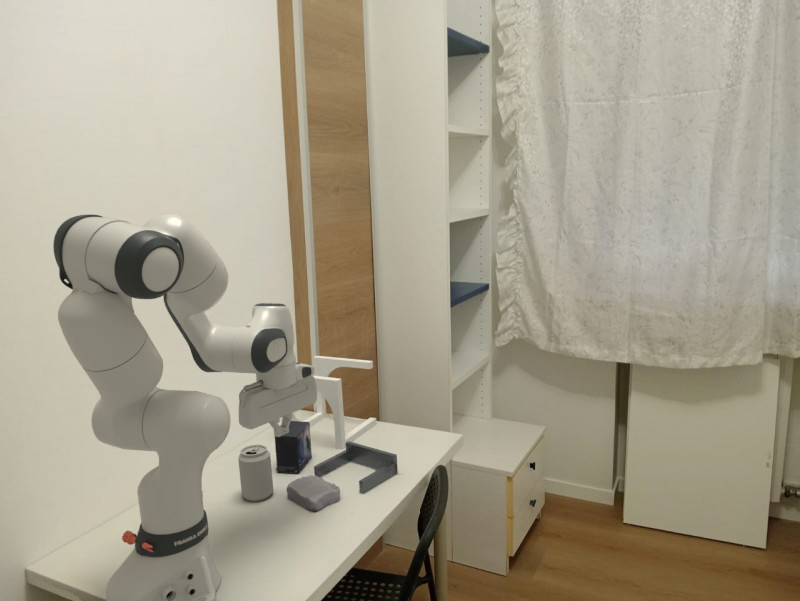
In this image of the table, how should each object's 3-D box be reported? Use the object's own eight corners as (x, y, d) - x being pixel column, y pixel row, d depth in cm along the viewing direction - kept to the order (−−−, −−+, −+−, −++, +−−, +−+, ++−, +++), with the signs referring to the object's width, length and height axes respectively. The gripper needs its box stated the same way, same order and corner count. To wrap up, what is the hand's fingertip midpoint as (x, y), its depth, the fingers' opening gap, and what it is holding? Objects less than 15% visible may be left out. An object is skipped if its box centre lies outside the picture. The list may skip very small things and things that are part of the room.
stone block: (316, 491, 169) (282, 497, 162) (318, 472, 169) (284, 478, 162) (346, 508, 161) (311, 516, 154) (348, 488, 161) (314, 495, 154)
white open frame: (321, 416, 216) (316, 355, 212) (376, 424, 207) (372, 360, 203) (283, 440, 198) (277, 374, 194) (342, 449, 189) (337, 380, 185)
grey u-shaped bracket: (363, 493, 163) (362, 474, 162) (314, 477, 173) (313, 458, 172) (397, 473, 173) (396, 454, 172) (349, 458, 183) (348, 441, 182)
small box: (300, 474, 175) (297, 436, 173) (276, 473, 176) (272, 435, 174) (313, 457, 185) (310, 420, 183) (290, 456, 186) (287, 420, 184)
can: (235, 499, 163) (230, 452, 160) (255, 486, 169) (250, 441, 167) (261, 505, 160) (256, 457, 157) (279, 491, 166) (275, 444, 164)
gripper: (248, 390, 139) (254, 454, 141) (319, 365, 154) (323, 422, 157) (229, 385, 143) (235, 447, 145) (300, 361, 158) (304, 417, 161)
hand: (281, 434), depth 151 cm, fingers closed
